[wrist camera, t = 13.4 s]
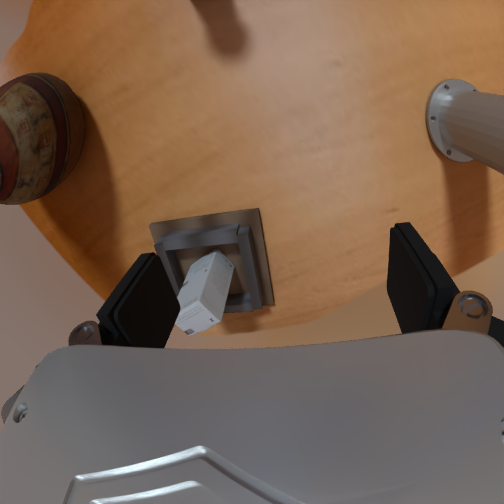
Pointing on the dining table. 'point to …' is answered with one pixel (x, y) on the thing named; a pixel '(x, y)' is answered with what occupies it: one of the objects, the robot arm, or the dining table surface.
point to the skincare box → (204, 293)
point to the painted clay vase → (37, 136)
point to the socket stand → (229, 243)
